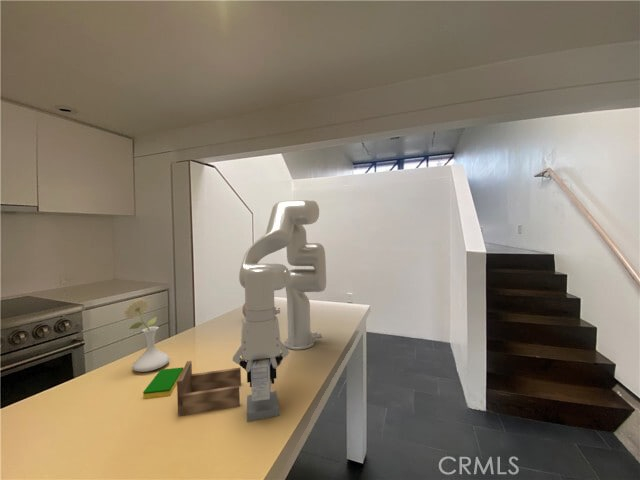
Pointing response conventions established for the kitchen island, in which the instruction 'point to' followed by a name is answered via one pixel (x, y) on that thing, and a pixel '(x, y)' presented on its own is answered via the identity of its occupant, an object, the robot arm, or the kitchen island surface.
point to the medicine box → (261, 379)
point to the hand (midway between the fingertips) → (262, 382)
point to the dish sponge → (163, 383)
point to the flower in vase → (151, 356)
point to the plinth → (262, 407)
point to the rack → (207, 390)
